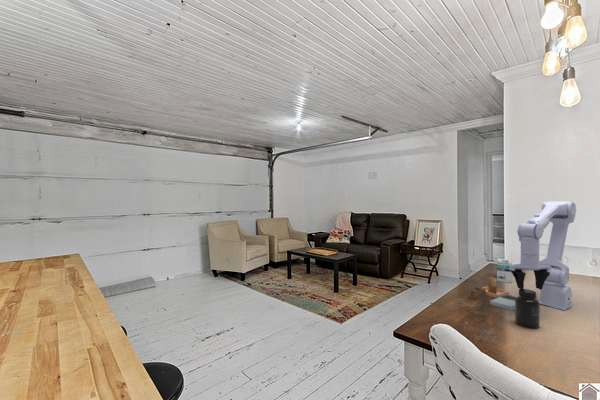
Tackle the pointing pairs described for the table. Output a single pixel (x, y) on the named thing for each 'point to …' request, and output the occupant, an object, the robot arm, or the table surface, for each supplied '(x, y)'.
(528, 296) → the supplement bottle
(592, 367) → the table surface
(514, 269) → the robot arm
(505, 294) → the socket
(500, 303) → the plate
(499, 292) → the tray
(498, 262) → the light bulb box
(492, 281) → the dowel
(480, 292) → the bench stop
